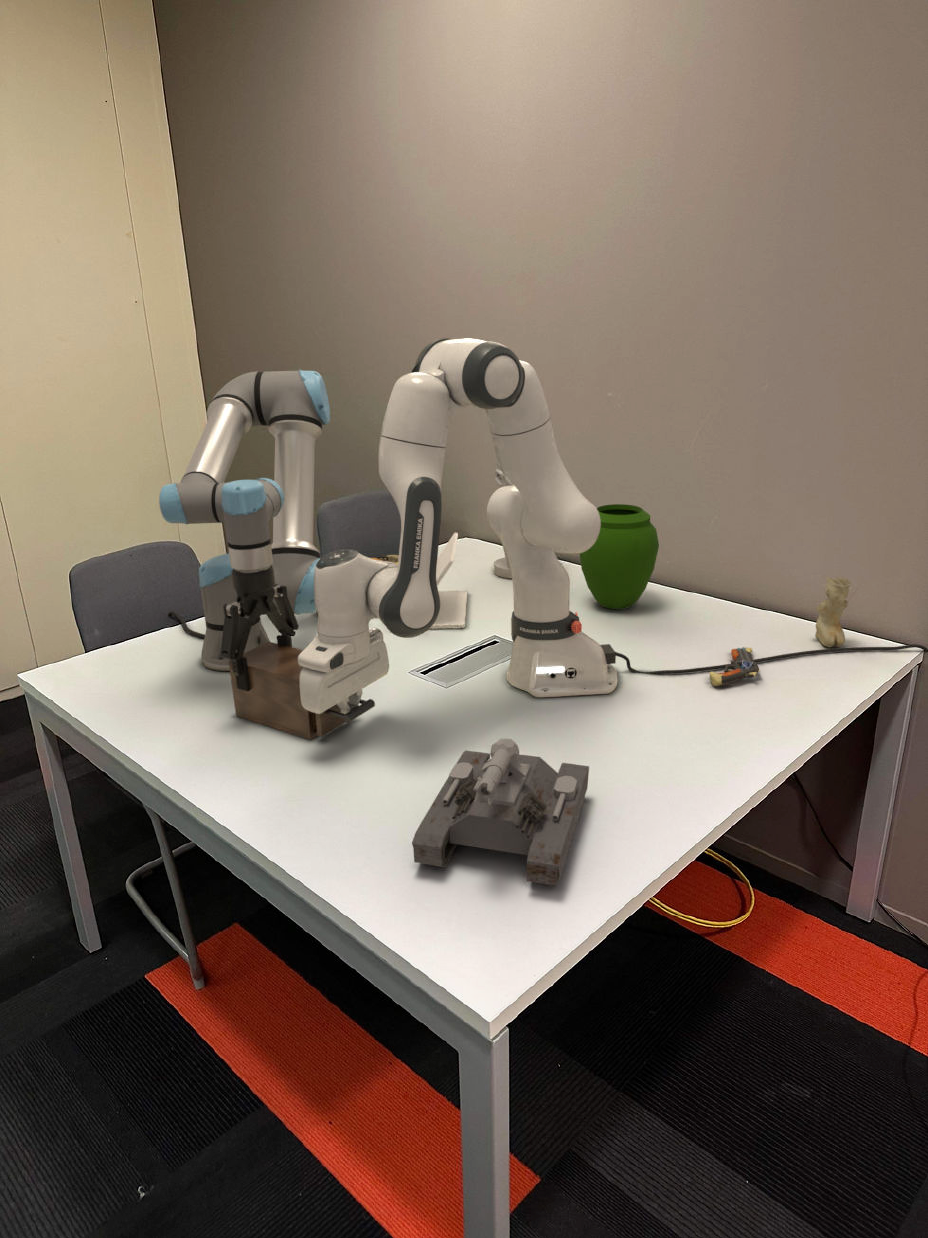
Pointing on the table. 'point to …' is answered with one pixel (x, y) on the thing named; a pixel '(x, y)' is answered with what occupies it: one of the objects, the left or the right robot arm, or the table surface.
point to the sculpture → (832, 613)
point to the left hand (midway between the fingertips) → (265, 678)
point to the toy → (505, 810)
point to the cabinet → (274, 690)
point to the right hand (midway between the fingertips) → (350, 715)
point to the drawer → (338, 717)
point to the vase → (620, 556)
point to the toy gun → (736, 667)
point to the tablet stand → (449, 592)
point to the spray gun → (388, 558)
